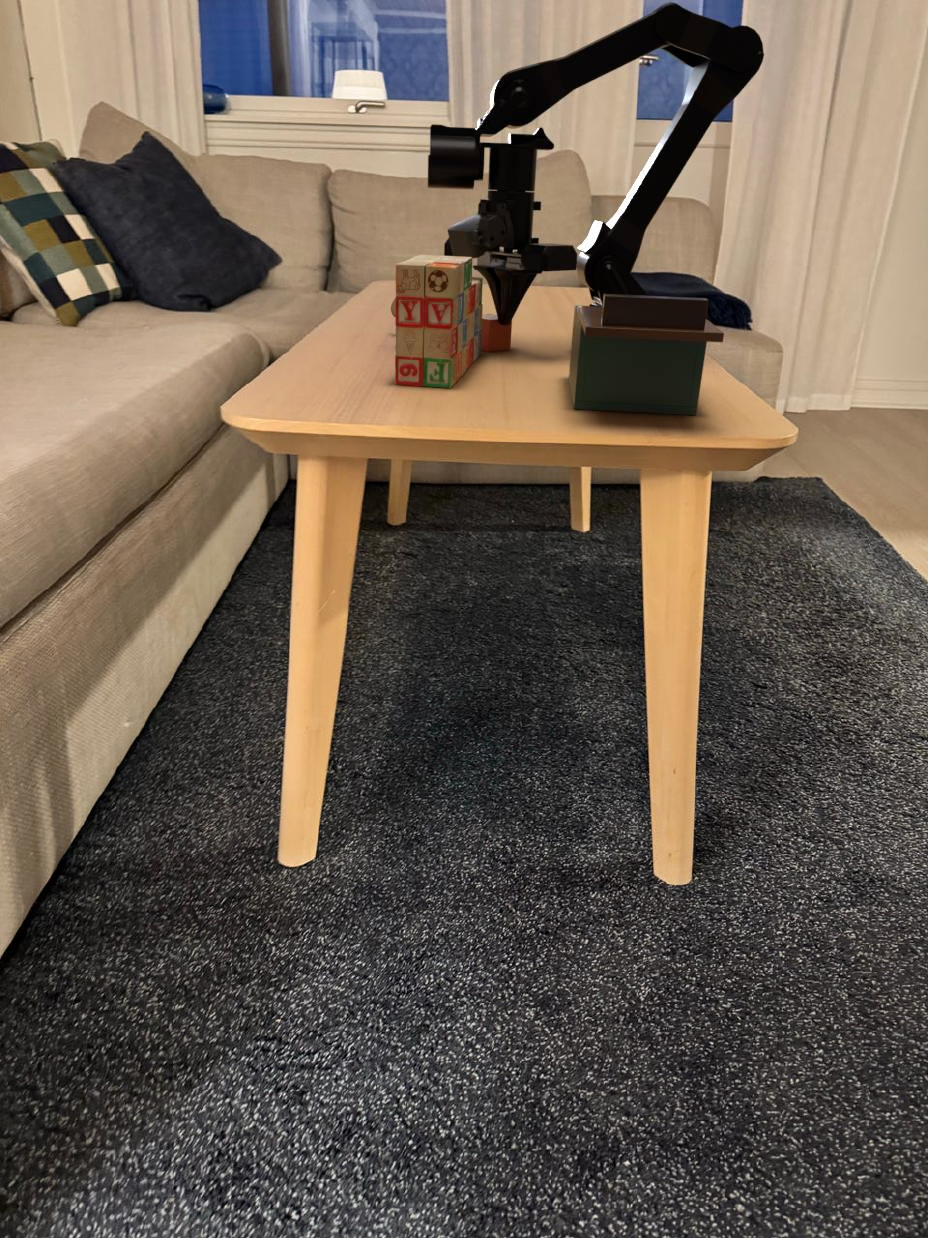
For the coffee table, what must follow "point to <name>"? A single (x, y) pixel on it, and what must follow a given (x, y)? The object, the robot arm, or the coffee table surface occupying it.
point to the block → (495, 334)
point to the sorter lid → (650, 318)
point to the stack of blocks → (436, 320)
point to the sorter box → (635, 373)
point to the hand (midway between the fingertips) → (504, 324)
